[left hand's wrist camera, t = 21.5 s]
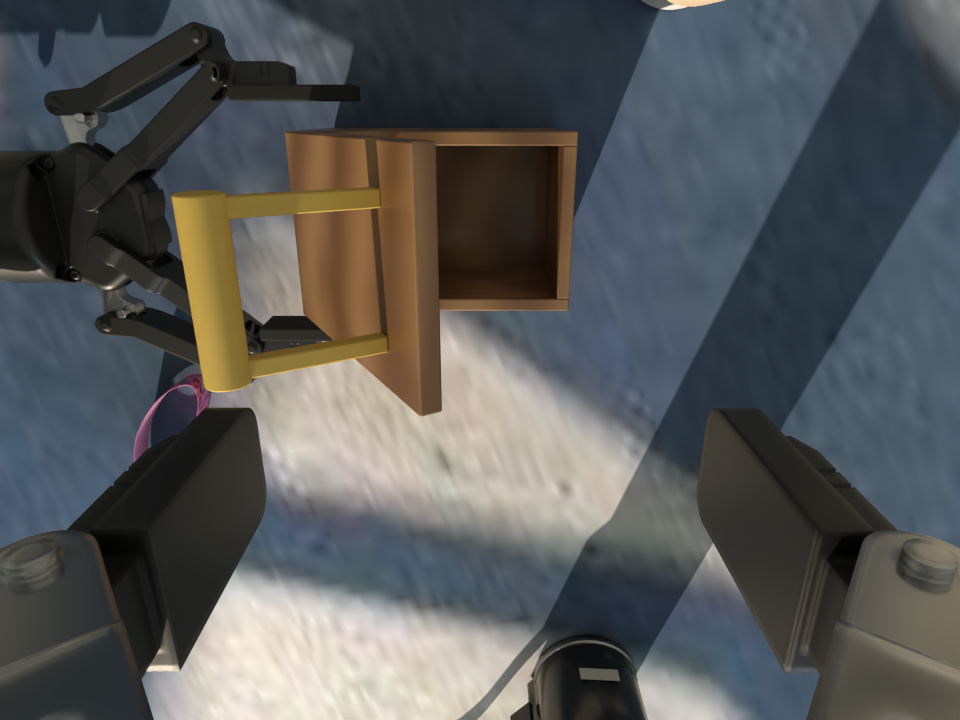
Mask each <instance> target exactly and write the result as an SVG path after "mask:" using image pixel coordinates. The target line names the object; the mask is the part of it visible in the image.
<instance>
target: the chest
mask: <svg viewBox="0 0 960 720" xmlns="http://www.w3.org/2000/svg"><path fill="white" fill-rule="evenodd" d="M302 131H307V132H321V133H335V134H349V135H363V136H377V137H391V138H406V139H420V140H433V141H435V143H436V177H437V222H438V266H439V310H542V311H567V310H568V308H569V299H568V298H569V290H570V272H571V254H572V236H573V217H574V199H575V181H576V163H577V144H578V132H577V131H571V130H565V129H560V128H327V129H315V130H302Z"/></svg>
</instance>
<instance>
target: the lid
mask: <svg viewBox="0 0 960 720" xmlns="http://www.w3.org/2000/svg"><path fill="white" fill-rule="evenodd" d="M285 138H286V148H287V157H288V167H289V176H290V186H291V191H289V192H271V193H254V194H236V195H226V194H225V192H222V191H216V190H198V191H184V192H177V193H174V194H172V202H173V208H174V214H175V220H176V226H177V232H178V237H179V243H180V249H181V255H182V261H183V267H184V272H185V278H186V284H187V290H188V296H189V302H190V307H191V313H192V319H193V325H194V331H195V337H196V342H197V348H198V354H199V360H200V366H201V372H202V377H203V383H204V387H205V388H206V389H207V390H209V391H212V392H229V391H234V390H238V389H241V388H244V387H246V386H248V385H249V384H250V383H251V381H252V378H256V377H261V376H267V375H272V374H277V373H282V372H287V371H293V370H298V369H303V368H308V367H314V366H319V365H324V364H329V363H334V362H340V361H345V360H350V359H356V360H357V361H358V362H359V363H360V364H361V365H362V366H364V367H365V368H366V369H367V370H368V371H369V372H370V373H372V374H373V375H374V376H375V377H376V378H377V379H378V380H380V381H381V382H382V383H383V384H384V385H385V386H386V387H387V388H389V389H390V390H391V391H392V392H393V393H394V394H395V395H397V396H398V397H399V398H400V399H401V400H402V401H403V402H405V403H406V404H407V405H408V406H409V407H410V408H411V409H412V410H414V411H415V412H416V413H417V414H418V415H419V416H425V415H429V414H433V413H437V412H441V411H442V400H441V355H440V311H439V266H438V222H437V177H436V143H435V141H433V140H420V139H406V138H391V137H377V136H363V135H349V134H335V133H321V132H307V131H286V132H285ZM290 214H293V215H294V225H295V234H296V244H297V253H298V263H299V273H300V282H301V292H302V301H303V311H304V315H306V316H307V317H308V318H309V319H310V320H311V321H312V322H314V323H315V324H316V325H317V326H318V327H319V328H320V329H322V330H323V331H324V332H325V333H326V334H327V335H328V336H329V337H331V338H332V339H333V341H328V342H322V343H316V344H310V345H305V346H299V347H293V348H287V349H282V350H276V351H270V352H264V353H259V354H253V355H249V354H248V347H247V340H246V333H245V326H244V319H243V312H242V305H241V298H240V290H239V283H238V276H237V269H236V262H235V255H234V248H233V241H232V234H231V227H230V219H235V218H248V217H262V216H276V215H290Z"/></svg>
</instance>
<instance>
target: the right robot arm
mask: <svg viewBox="0 0 960 720" xmlns="http://www.w3.org/2000/svg"><path fill="white" fill-rule="evenodd" d="M199 63H200V64H201V66H202V67H201V68H200V69H199V70H198V71H197V72H196V73H195V75H194V76H193V77H192V78H191V79H190V80H189V81H188V82H187V83H186V84H185V85H184V86H183V87H182V88H181V89H180V91H179V92H178V93H177V94H176V95H175V96H174V97H173V98H172V99H171V100H170V101H169V102H168V103H167V104H166V105H165V107H164V108H163V109H162V110H161V111H160V112H159V113H158V114H157V115H156V116H155V117H154V118H153V119H152V120H151V121H150V123H149V124H148V125H147V126H146V127H145V128H144V129H143V130H142V131H141V132H140V133H139V134H138V135H137V136H136V137H135V139H134V140H133V141H132V142H131V143H129V144H128V145H126V146H124V147H123V148H121V149H120V150H119V151H118V152H117V153H116V154H115V153H113V152H112V151H110V150H109V149H107V148H106V147H104V146H103V145H101V144H99V143H96V142H95V134H96V132H97V131H98V130H99V129H101V128H103V127H104V126H105V125H106V123H107V122H108V120H109V117H108V115H107V114H106V113H109V112H114V111H117V110H120V109H122V108H124V107H126V106H128V105H130V104H132V103H133V102H135V101H137V100H138V99H140V98H142V97H144V96H145V95H147V94H149V93H150V92H152V91H154V90H155V89H157V88H159V87H160V86H162V85H164V84H166V83H167V82H169V81H171V80H172V79H174V78H176V77H177V76H179V75H181V74H182V73H184V72H186V71H188V70H189V69H191V68H193V67H194V66H196V65H198V64H199ZM227 96H228V97H229V100H236V101H360V87H358V86H354V85H297V82H296V71H295V67H293V66H290V65H288V64H286V63H282V62H278V61H235V60H234V59H232V57H231V56H230V55H229V53H228V51H227V49H226V46H225V38H224V36H223V34H222V33H221V32H220V31H219V30H217V29H216V28H213V27H209V26H206V25H203V24H200V23H197V22H191V23H188V24H187V25H185V26H183V27H182V28H180V29H178V30H177V31H175V32H174V33H172V34H170V35H169V36H167V37H165V38H164V39H162V40H160V41H159V42H157V43H155V44H154V45H152V46H150V47H149V48H147V49H145V50H144V51H142V52H140V53H139V54H137V55H135V56H134V57H132V58H131V59H129V60H127V61H126V62H124V63H122V64H121V65H119V66H117V67H116V68H114V69H112V70H111V71H109V72H107V73H106V74H104V75H102V76H101V77H99V78H97V79H96V80H94V81H93V82H91V83H89V84H88V85H86V86H84V87H83V88H76V89H68V90H60V91H52V92H49V93H47V94H46V96H45V99H44V103H45V106H46V108H47V110H48V111H49V112H50V113H52V114H54V115H59V116H60V117H61V120H62V124H63V127H64V130H65V133H66V136H67V139H68V142H69V145H68V146H66V147H65V148H64V149H62V150H59V151H0V282H5V281H9V282H17V283H87V284H90V285H93V286H95V287H97V288H99V289H101V292H102V301H103V310H104V315H102V316H100V317H99V318H97V320H96V323H95V325H96V328H97V329H98V331H99V332H101V333H102V334H105V335H112V336H122V337H132V338H136V339H138V340H141V341H143V342H145V343H148V344H150V345H152V346H155V347H157V348H160V349H162V350H164V351H167V352H169V353H171V354H174V355H176V356H178V357H181V358H183V359H185V360H188V361H190V362H192V363H195V364H197V365H199V366H200V360H199V354H198V348H197V342H196V337H195V331H194V325H193V324H191V323H188V322H186V321H184V320H182V319H179V318H177V317H175V316H172V315H170V314H168V313H165V312H163V311H160V310H157V309H153V308H148V307H145V302H144V301H143V300H141V299H137V298H134V297H132V296H130V295H129V294H128V292H127V291H126V287H125V286H126V285H128V284H130V283H131V282H132V281H134V282H136V283H137V284H138V285H140V286H141V287H143V288H144V289H146V290H147V291H149V292H152V293H158V294H160V295H161V296H163V297H164V298H166V299H167V300H168V301H170V302H171V303H173V304H174V305H176V306H177V307H178V308H180V309H181V310H183V311H184V312H185V313H187V314H188V315H190V316H191V317H192V313H191V307H190V302H189V296H188V290H187V284H186V278H185V272H184V267H183V262H182V261H181V260H179V259H178V258H177V257H175V256H174V255H172V254H171V253H170V252H168V251H167V249H168V245H169V243H170V242H172V237H171V231H170V228H169V225H168V223H167V221H166V219H165V216H164V213H165V197H164V192H163V189H159V188H158V186H157V184H156V183H155V182H154V180H153V179H152V177H153V176H154V175H155V174H156V173H157V172H158V171H159V170H160V169H161V168H162V167H163V166H164V165H165V164H166V163H167V161H168V157H169V156H170V155H171V154H172V153H173V152H174V151H175V150H176V149H177V148H178V147H179V146H180V145H181V144H182V143H183V142H184V141H185V140H186V139H187V138H188V137H189V136H190V135H191V133H192V132H193V131H194V130H195V129H196V128H197V127H198V126H199V125H200V124H201V123H202V122H203V121H204V120H205V119H206V118H207V117H208V116H209V115H210V114H211V113H212V112H213V111H214V110H215V109H216V108H217V107H218V106H219V105H220V103H221V102H222V101H223V100H224V99H225V98H226V97H227ZM242 312H243V319H244V326H245V333H246V340H247V347H248V354H249V355H253V354H259V353H264V352H270V351H276V350H282V349H287V348H293V347H299V346H305V345H310V344H316V343H321V341H333V339H332V338H331V337H329V336H328V335H327V334H326V333H325V332H324V331H323V330H322V329H320V328H319V327H318V326H317V325H316V324H315V323H314V322H312V321H311V320H310V319H309V318H308V317H307V316H272V317H271V318H270V319H269V320H268V321H267V322H266V323H265V324H264V325H263V324H262V323H260V322H259V321H257V320H256V319H255V318H253V317H252V316H251V315H249V314H248V313H246V312H245V311H244V310H242ZM255 379H256V378H252V381H251V383H252V382H253V381H254V380H255Z"/></svg>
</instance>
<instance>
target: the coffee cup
mask: <svg viewBox="0 0 960 720" xmlns="http://www.w3.org/2000/svg"><path fill="white" fill-rule="evenodd" d="M641 1H643V2H644V3H646V4H648V5H650V6H652V7H655V8H659V9H665V10H675V9H681V8H685V7H689V6H690V7H692V6H701V5H706V4H710V3H715V2H719V1H723V0H641Z"/></svg>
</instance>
